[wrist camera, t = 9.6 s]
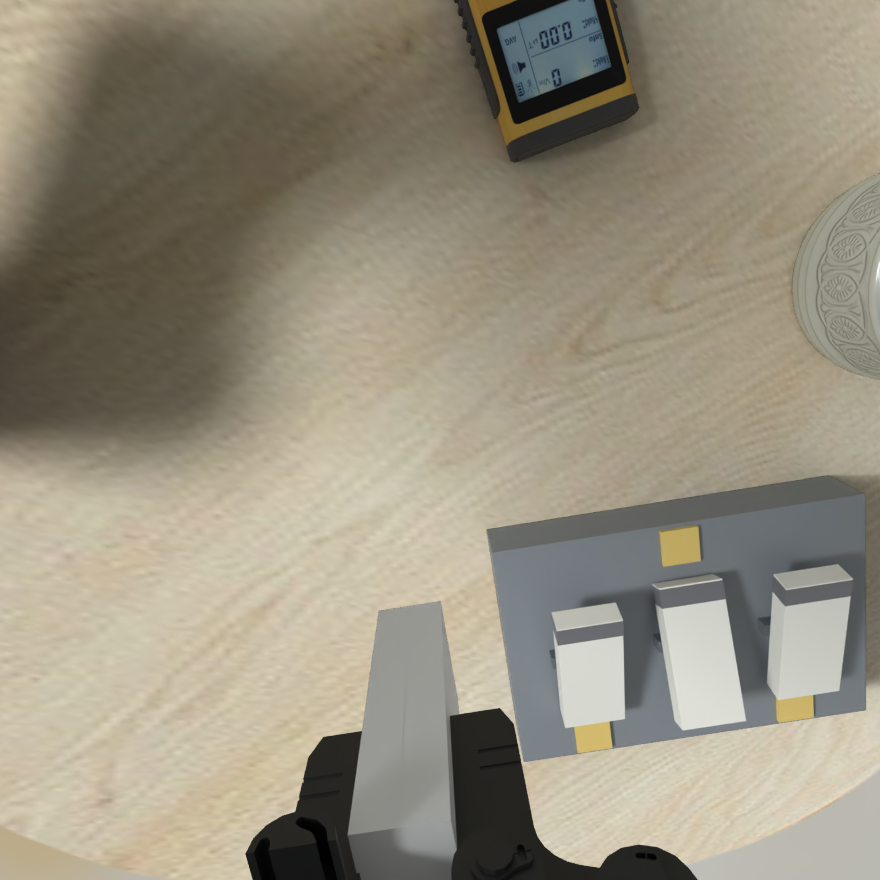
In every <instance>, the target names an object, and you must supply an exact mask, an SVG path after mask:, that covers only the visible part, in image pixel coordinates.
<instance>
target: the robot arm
mask: <svg viewBox="0 0 880 880" xmlns="http://www.w3.org/2000/svg"><path fill="white" fill-rule="evenodd" d="M303 779H304V783H302V787H301V791H300V795H299V801H298V803H297V807H296V811H295V812H293V813H290V814H287V815H283V816H281V817H279V818H278V819H276V820H275V821H273V822H271V823H270V824H268V825H266V826H265V827H264V828H263V829H262V830H261V831H260V832H259V833H258V834H257V835H256V836H255V837H254V838H253V840H252V842H251V844H250V846H249V848H248V850H247V852H246V857H247V861H248V864H249V868H250V872H251V875H252V879H253V880H697V879H696V877H695V876H694V875H693V873H692V872H691V870H690V869H689V868H688V867H687V866H686V865H685V864H684V863H683V862H681V861H680V860H679V859H678V858H677V857H676V856H675V855H673V854H671V853H669V852H666V851H664V850H662V849H660V848H658V847H652V846H645V845H634V846H629V847H624V848H620V849H619V850H617V851H616V852H614V853H612V854H611V855H609V856H608V857H607V858H606V859H605V861H604V862H603V864H602V865H601V867H600V868H597V867H590V866H584V865H579V864H575V863H571V862H567V861H565V860H563V859H561V858H559V857H557V856H555V855H554V854H552V853H551V852H550V851H549V850H548V849H547V848H545V847H544V845H543V844H542V843H541V841H540V840H539V838H538V837H537V834H536V831H535V828H534V825H533V820H532V815H531V810H530V805H529V799H528V794H527V789H526V784H525V779H524V774H523V769H522V764H521V759H520V754H519V749H518V744H517V738H516V733H515V728H514V724H513V723H512V721H511V720H510V719H509V718H508V717H507V716H506V715H505V714H504V712H503V711H502V710H501V709H500V708H497V709H491V710H484V711H478V712H471V713H465V714H459V707H458V697H457V692H456V686H455V680H454V675H453V669H452V663H451V658H450V652H449V646H448V641H447V635H446V629H445V624H444V618H443V612H442V607H441V601H438V602H432V603H425V604H419V605H412V606H406V607H400V608H393V609H387V610H381V611H379V612H378V619H377V627H376V634H375V641H374V648H373V656H372V663H371V670H370V677H369V685H368V692H367V699H366V706H365V713H364V721H363V728H362V731H360V732H353V733H347V734H340V735H334V736H327V737H323V738H322V740H321V741H320V742H319V744H318V745H317V746H316V748H315V749H314V751H313V752H312V753H311V755H310V756H309V758H308V762H307V766H306V770H305V774H304V778H303Z"/></svg>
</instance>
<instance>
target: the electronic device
mask: <svg viewBox="0 0 880 880" xmlns="http://www.w3.org/2000/svg"><path fill="white" fill-rule="evenodd" d="M454 2H455V3H458V5H459V8H458V15H459V16H461V17H462V18H463V23H462V27H463V29H465V30H467V38H466V40H467V42H468V43H471V46H472V47H471V52H470V53H471V55H473V56H475V59H476V61H475V68H477V69H479V72H480V75H481V78H482V81H483V84H484V88H485V91H486V94H487V97H488V100H489V104H490V107H491V110H492V113H493V116H494V119H495V118H497V119H498V122H499V125H500V128H501V131H502V135H503V138H504V141H505V144H506V147H507V150H508V154H509V157H510V160H511V161H512V162H517V161H519V160H522V159H525V158H527V157H530V156H533V155H535V154H538V153H541V152H543V151H546V150H548V149H551V148H554V147H556V146H559V145H562V144H564V143H567V142H569V141H572V140H575V139H577V138H580V137H582V136H585V135H588V134H590V133H593V132H596V131H598V130H601V129H603V128H606V127H609V126H611V125H614V124H616V123H619V122H622V121H624V120H626V119H628V118H630V117H631V116H632V115H634V114H635V113H636V112H637V111H638V109H639V106H638V102H637V98H636V94H634V90H633V87H632V83H631V79H630V75H629V71H628V68H627V64H628V63H629V59H628V54H627V50H626V46H625V42H624V39H623V35H622V31H621V27H620V24H619V20H618V16H617V12H616V8H617V5H616V4H615V3H614V1H613V0H454Z"/></svg>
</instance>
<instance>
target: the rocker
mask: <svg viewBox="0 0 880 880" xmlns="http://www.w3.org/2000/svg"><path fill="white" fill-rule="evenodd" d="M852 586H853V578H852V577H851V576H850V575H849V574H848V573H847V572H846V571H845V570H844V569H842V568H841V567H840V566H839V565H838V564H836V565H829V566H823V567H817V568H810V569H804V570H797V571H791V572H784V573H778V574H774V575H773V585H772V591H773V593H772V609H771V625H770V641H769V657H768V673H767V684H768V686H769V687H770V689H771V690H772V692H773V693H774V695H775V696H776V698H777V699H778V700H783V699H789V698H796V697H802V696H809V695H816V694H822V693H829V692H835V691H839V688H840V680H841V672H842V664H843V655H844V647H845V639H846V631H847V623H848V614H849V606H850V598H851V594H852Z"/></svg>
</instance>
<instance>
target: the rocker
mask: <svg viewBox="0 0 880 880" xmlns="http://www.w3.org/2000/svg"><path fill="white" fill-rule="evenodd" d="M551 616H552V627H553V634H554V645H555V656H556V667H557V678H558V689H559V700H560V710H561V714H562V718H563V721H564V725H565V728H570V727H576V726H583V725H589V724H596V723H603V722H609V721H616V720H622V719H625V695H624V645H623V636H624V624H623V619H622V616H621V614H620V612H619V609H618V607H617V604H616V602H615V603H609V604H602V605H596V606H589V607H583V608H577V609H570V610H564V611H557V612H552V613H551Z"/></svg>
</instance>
